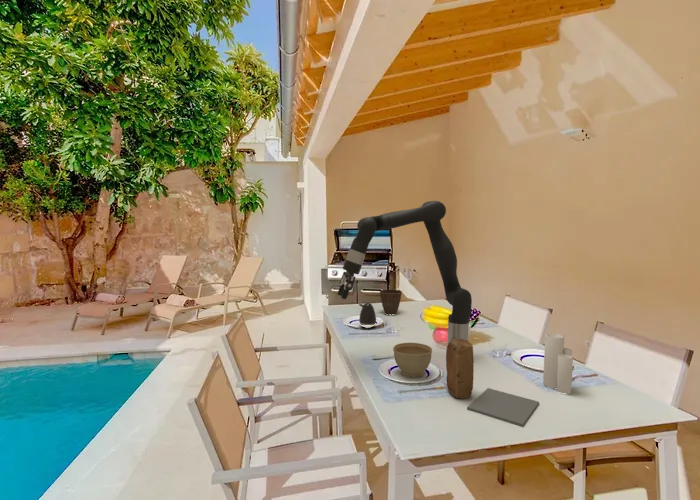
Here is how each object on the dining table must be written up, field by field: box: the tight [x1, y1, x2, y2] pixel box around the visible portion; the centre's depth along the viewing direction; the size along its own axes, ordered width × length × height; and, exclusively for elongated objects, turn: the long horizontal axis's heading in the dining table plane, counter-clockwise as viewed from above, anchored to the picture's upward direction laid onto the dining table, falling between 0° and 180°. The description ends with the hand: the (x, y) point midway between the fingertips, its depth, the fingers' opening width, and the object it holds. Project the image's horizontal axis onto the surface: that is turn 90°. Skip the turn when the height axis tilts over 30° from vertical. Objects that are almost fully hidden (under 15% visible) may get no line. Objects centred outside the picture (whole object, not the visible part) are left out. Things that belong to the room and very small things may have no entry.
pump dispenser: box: [358, 302, 377, 326], centre depth 236 cm, size 10×10×15 cm
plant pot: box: [379, 289, 403, 315], centre depth 270 cm, size 15×15×16 cm
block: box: [445, 339, 475, 399], centre depth 145 cm, size 11×8×20 cm
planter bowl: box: [392, 342, 433, 378], centre depth 165 cm, size 16×16×11 cm
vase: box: [542, 332, 574, 394], centre depth 150 cm, size 11×7×20 cm, turn 27°
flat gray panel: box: [466, 387, 540, 428], centre depth 136 cm, size 20×18×1 cm
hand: (341, 296), depth 170 cm, fingers open, 8 cm apart
